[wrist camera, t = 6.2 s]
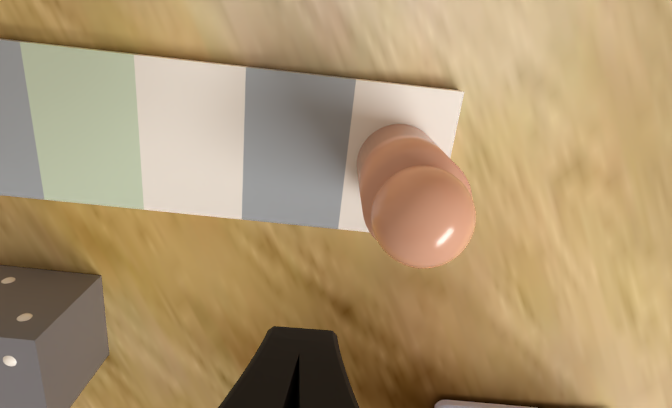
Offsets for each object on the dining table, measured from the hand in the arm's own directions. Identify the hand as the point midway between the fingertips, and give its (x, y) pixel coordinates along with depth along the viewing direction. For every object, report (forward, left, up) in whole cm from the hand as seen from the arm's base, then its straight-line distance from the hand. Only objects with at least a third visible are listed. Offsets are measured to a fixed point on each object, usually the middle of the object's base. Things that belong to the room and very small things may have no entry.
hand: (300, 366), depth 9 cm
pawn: (-3, -2, -9) cm, 10 cm away
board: (+5, -2, -9) cm, 11 cm away
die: (+12, +7, -10) cm, 17 cm away
